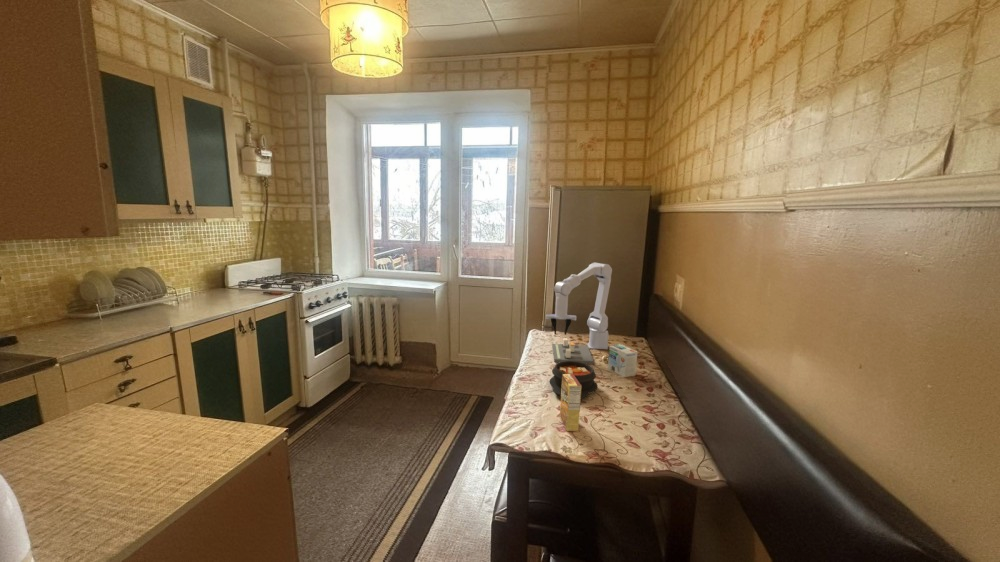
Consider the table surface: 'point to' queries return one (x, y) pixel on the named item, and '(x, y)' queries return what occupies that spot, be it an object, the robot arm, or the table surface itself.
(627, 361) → the light bulb box
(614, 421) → the table surface
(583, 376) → the casserole
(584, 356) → the breaker panel
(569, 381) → the candy box
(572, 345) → the handle
